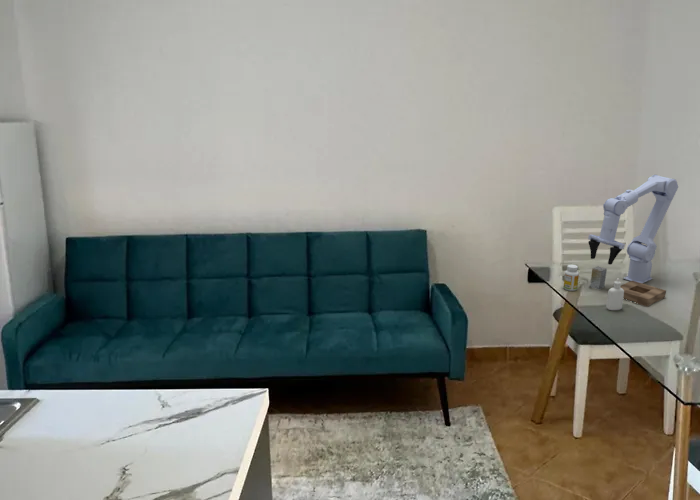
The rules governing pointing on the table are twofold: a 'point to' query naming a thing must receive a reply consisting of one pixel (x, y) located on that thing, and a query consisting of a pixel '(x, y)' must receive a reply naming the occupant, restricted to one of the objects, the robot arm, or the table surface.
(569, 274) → the supplement bottle
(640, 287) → the socket block
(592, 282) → the peg
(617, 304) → the eye dropper bottle
